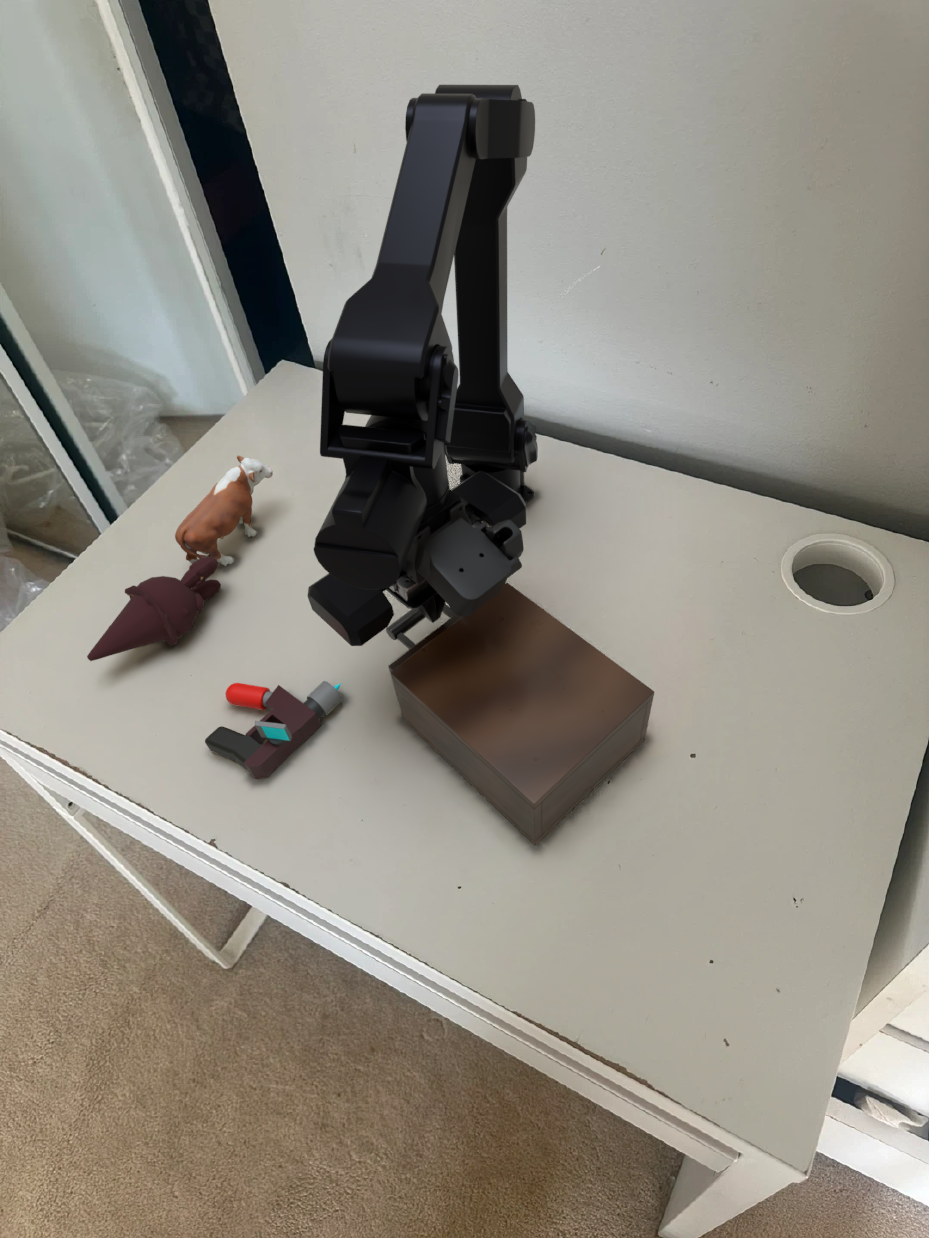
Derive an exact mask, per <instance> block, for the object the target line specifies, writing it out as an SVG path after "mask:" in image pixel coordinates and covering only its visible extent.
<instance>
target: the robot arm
mask: <svg viewBox="0 0 929 1238" xmlns="http://www.w3.org/2000/svg"><path fill="white" fill-rule="evenodd" d="M404 129H405V141H406V144H405V147H404V151H403V156H402V160H401V164H400V168H399V173H398V176H397V181H396V184H395V187H394V191H393V197H392V200H391V205H390V208H389V211H388V216H387V220H386V224H385V227H384V231H383V236H382V239H381V243H380V248H379V252H378V256H377V260H376V263H375V266H374V270H373V272H372V275H371V278H369V280H368V281H366V283H364V284H363V285H362V286H361V287H360V288H359V289H358V290H357V291H355V292H354V293H353V294H352V295H351V296H349V298H347V300H346V301H345V303H344V304H343V307H342V310H341V313H340V315H339V318H338V321H337V324H336V327H335V330H334V332H333V335H332V338H331V339H330V340H329V341H328V342H327V345H326V347H325V349H324V355H323V360H322V361H323V362H322V383H321V384H322V385H321V386H322V387H321V408H320V409H321V410H320V412H321V413H320V435H319V437H320V438H319V439H320V440H319V441H320V442H319V455H320V457H322V458H323V457H324V458H332V459H342V461H343V465H344V469H345V477H344V481H343V483H342V485H341V487H340V488H339V490H338V493H337V494H336V497H335V499H334V501H333V502H332V505H331V506H330V509H329V510H328V513H327V515H326V516H325V519H324V520H323V523H322V524H321V527H320V529H319V530H318V532H317V535H316V537H315V539H314V546H313V553H314V556H315V558H316V560H317V562H318V564H320V566H321V567H322V568H323V569H324V570H325V571H326V572H327V574H325V575H324V576H322V577H321V578H319V579H318V580H317V581H315V582H313V583H312V584H310V585H309V586H308V588H307V598H308V602H309V604H310V607H311V610H312V612H314V613H315V614H316V615H317V616H318V617H319V618H321V619H322V620H323V621H324V622H325V623H326V624H327V625H328V626H329V627H330V628H331V629H333V630H334V632H336V634H338V635H339V636H340V637H341V638H342V639H343V640H344V641H345V642H346V643H348V644H349V646H351V647H362V646H364V645H365V644H366V643H367V642H369V641H370V640H372V639H373V638H375V637H376V636H377V635H378V634H380V633H381V632H382V631H384V630H386V628H387V627H388V626H390V623H391V621H392V620H393V618H394V615H395V613H394V608H393V605H392V603H391V602H390V600H389V599H388V597H387V595H386V594H385V593H384V592H385V591H387V592H388V593H389V595H391V596H392V597H394V598H395V599H396V600H397V601H398V602H399V603H400V604H401V605H403V606H404V607H406V608H408V609H410V610H411V609H415V608H418V609H419V610H420V611H421V612H422V613H423V615H424V616H425V617H426V618H425V619H427V620H428V621H429V622H431V623H432V624H434V623H436V622H437V621H438V620H439V619H440V618H441V617H442V613H443V612H442V611H443V608H444V605H445V604H446V605H447V606H449V607H450V608H451V610H452V611H453V612H454V613H455V614H457V615H459V616H462V617H467V616H470V615H472V614H473V613H475V612H476V611H477V610H478V609H479V608H480V607H481V606H483V605H484V604H485V603H487V602H488V601H489V600H491V599H492V598H493V597H495V596H497V595H498V594H499V593H500V592H501V591H502V589H503V587H504V585H505V583H507V581H508V579H509V578H510V577H512V575H514V574H515V573H517V572H518V571H519V570H521V569H522V568H523V563H522V562H521V560H520V557H521V556H522V555H523V553H524V540H523V532H522V529H521V528H523V527H524V526H525V525H527V503H528V502H530V501H531V500H532V499H533V498H534V497H535V491H534V490H533V489H532V488H530V487H528V486H527V485H525V473H527V472H528V468H529V466H530V465H532V464H533V463H536V462H537V461H538V457H539V455H538V452H539V451H538V449H539V447H538V441H537V435H536V432H537V431H536V430H537V425H536V424H535V423H533V422H532V421H531V420H529V419H527V418H526V419H525V396H524V394H523V393H522V391H521V390H520V388H519V387H518V385H517V384H516V382H515V381H514V378H513V377H512V376H511V375H510V373H509V370H508V369H509V367H508V207H509V205H510V203H511V201H512V199H513V198H514V195H515V194H516V192H517V190H518V188H519V186H520V184H521V183H522V181H523V178H524V176H525V175H526V173H527V169H528V157H531V155H532V152H533V150H534V144H535V137H536V109H535V104H534V103H533V102H532V101H528V100H527V99H526V98H523V97H522V92H521V88H520V86H519V84H438V85H437V87H436V88H435V91H434V93H431V92H429V93H427V92H426V93H423V92H422V93H420V95H418V97H411V98H410V99H409V101H408V103H407V106H406V112H405V125H404ZM453 262H454V284H455V307H456V325H457V327H456V329H457V347H458V348H457V349H458V366H457V364H456V363H455V358H454V353H453V345H452V341H451V338H450V336H449V333H448V332H449V331H448V329H447V325H446V323H445V320H444V318H443V315H442V313H443V307H444V301H445V297H446V292H447V288H448V283H449V280H450V279H449V278H450V274H451V271H452V266H453ZM345 413H347V414H353V415H354V414H356V415H365V416H369V418H368V420H367V422H366V423H365V425H364V426H363V425H352V424H344V418H345ZM447 463H448V465H454V464H457V465H460V466H461V467H460V468H461V475H459V484H457V485H456V486H454V487H453V488H451V489H450V484H449V483H450V482H449V473H448V466H447Z"/></svg>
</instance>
